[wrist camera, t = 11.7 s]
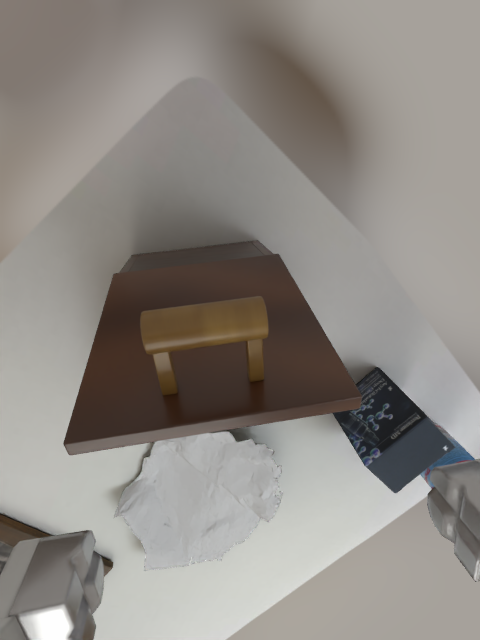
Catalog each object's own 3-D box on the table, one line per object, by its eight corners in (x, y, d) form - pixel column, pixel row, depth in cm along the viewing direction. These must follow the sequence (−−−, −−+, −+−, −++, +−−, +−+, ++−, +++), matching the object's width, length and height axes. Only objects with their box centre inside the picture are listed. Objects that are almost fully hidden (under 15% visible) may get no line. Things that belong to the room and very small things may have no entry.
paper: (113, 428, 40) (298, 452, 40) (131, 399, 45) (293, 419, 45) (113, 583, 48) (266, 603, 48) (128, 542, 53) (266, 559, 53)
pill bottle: (391, 442, 49) (446, 512, 39) (428, 412, 48) (494, 476, 38) (416, 465, 51) (474, 538, 41) (451, 437, 50) (520, 504, 40)
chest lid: (360, 409, 17) (377, 315, 14) (68, 456, 15) (21, 364, 13) (278, 262, 29) (278, 198, 26) (116, 282, 28) (97, 217, 25)
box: (376, 364, 45) (429, 416, 35) (401, 392, 47) (458, 448, 37) (327, 406, 46) (365, 468, 36) (353, 431, 48) (396, 496, 38)
